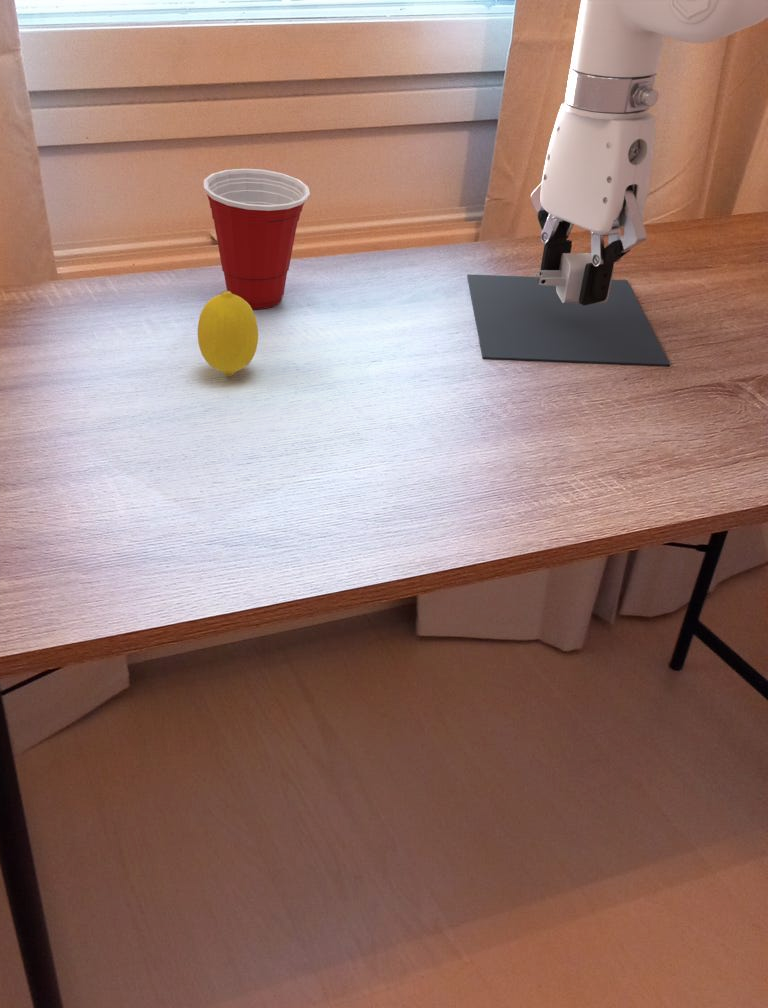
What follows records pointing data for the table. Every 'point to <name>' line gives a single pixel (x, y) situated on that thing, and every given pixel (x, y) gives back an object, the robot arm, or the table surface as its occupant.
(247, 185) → the plastic cup
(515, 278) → the mat
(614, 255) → the robot arm
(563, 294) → the usb wall charger
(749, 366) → the table surface
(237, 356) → the lemon
